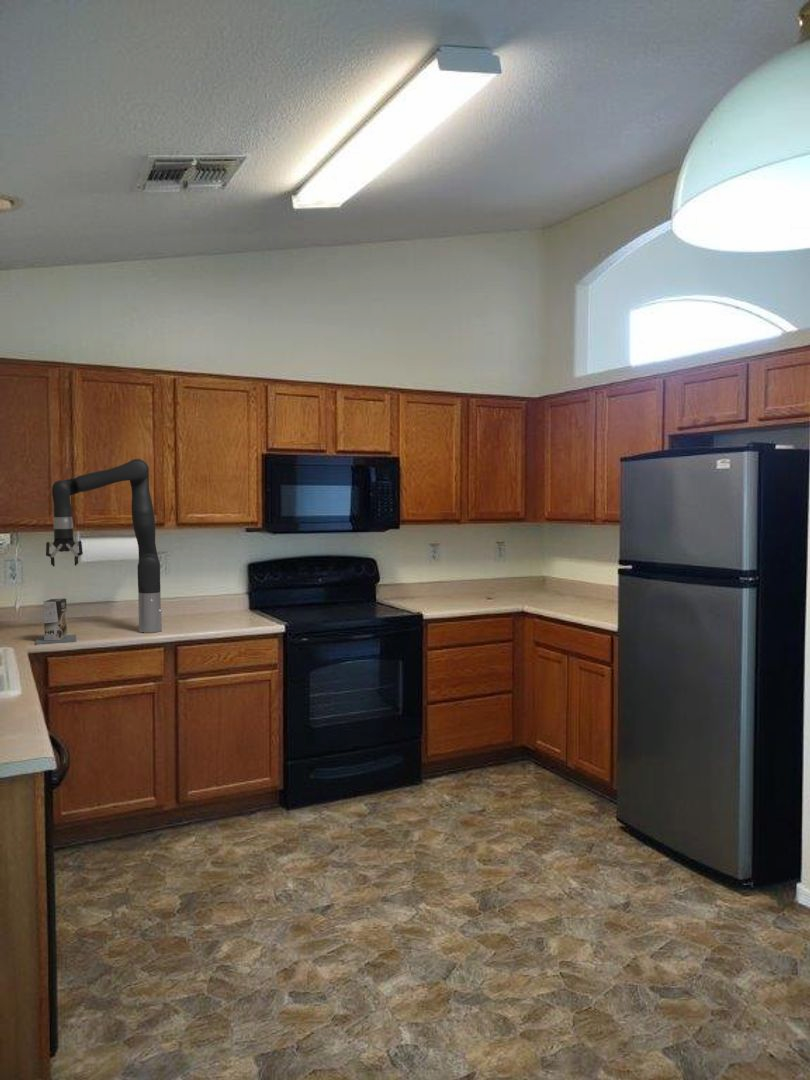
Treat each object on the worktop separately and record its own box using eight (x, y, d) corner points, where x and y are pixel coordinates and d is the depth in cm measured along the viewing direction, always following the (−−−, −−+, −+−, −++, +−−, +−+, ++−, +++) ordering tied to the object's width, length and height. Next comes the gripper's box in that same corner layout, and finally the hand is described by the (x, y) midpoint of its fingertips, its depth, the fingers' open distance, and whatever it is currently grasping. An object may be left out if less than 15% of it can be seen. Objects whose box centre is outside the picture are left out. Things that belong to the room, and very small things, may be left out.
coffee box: (60, 640, 317) (59, 601, 316) (43, 640, 317) (42, 601, 316) (67, 636, 326) (67, 598, 325) (51, 636, 326) (51, 598, 325)
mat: (75, 636, 331) (75, 634, 331) (76, 641, 318) (76, 640, 318) (36, 638, 325) (36, 637, 325) (35, 644, 312) (35, 643, 312)
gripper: (45, 528, 325) (46, 567, 326) (82, 527, 331) (83, 565, 332) (44, 527, 331) (46, 565, 332) (81, 526, 337) (82, 564, 338)
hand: (64, 565), depth 332 cm, fingers open, 8 cm apart
